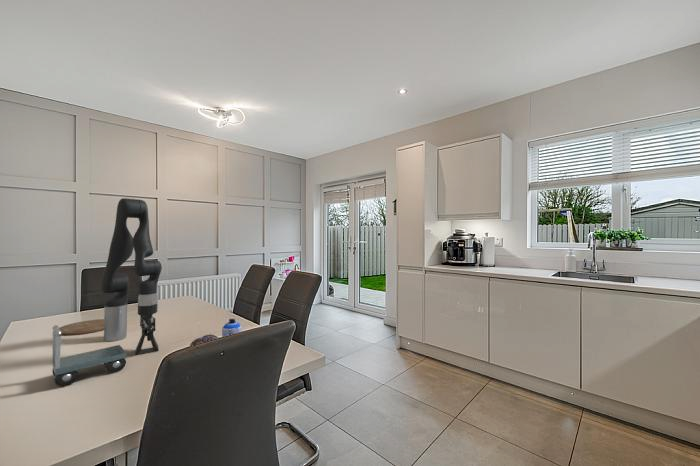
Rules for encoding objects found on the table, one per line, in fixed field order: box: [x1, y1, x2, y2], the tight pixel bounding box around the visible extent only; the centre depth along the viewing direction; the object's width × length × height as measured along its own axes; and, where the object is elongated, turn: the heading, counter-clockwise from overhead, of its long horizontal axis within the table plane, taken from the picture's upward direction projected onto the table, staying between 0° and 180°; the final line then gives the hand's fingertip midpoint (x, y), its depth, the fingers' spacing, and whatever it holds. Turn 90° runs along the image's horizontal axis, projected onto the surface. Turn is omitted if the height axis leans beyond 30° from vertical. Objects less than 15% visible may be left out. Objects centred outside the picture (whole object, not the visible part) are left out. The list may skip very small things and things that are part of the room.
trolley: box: [51, 324, 127, 388], centre depth 112 cm, size 12×20×20 cm, turn 139°
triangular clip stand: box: [134, 325, 159, 357], centre depth 134 cm, size 9×6×12 cm, turn 124°
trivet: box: [59, 318, 104, 337], centre depth 166 cm, size 25×25×2 cm
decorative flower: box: [189, 334, 219, 346], centre depth 123 cm, size 14×12×15 cm
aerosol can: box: [221, 318, 243, 338], centre depth 119 cm, size 8×8×20 cm
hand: (147, 338), depth 134 cm, fingers open, 8 cm apart
